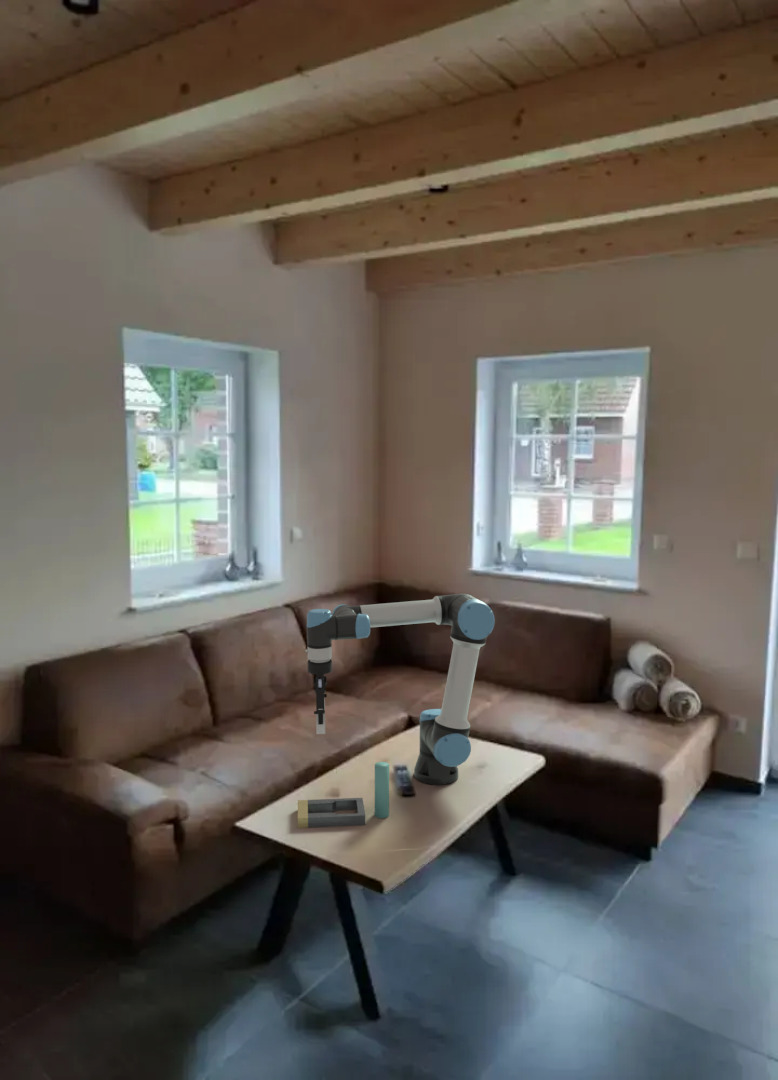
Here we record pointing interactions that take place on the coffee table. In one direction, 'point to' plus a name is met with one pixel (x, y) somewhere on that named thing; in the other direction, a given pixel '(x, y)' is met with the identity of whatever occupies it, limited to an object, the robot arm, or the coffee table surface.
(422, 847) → the coffee table surface
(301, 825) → the keyhole plate
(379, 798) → the peg
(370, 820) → the coffee table surface
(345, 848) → the coffee table surface
